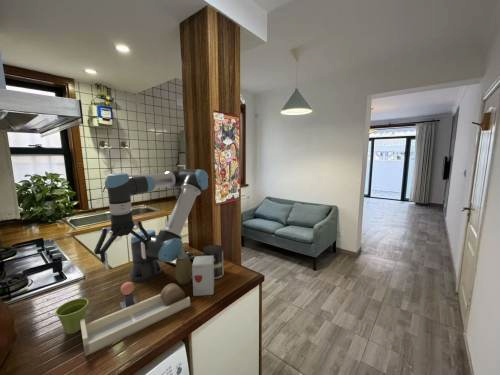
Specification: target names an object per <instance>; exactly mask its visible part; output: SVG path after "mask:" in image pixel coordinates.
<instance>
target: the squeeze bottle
mask: <svg viewBox="0 0 500 375" xmlns="http://www.w3.org/2000/svg"><path fill="white" fill-rule="evenodd" d="M188 255H189V254H188V252H185V249H184V246H182V247H181V250H180V253H179V254H178V258H177V259H176V260H175V271H174V272H175V275H174V276H175V279H176V281H177V284H179V285H186V284H188V283H190V282H191V279H192V277H193V274H192V264H191V259H190V257H189V256H188Z"/></svg>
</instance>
